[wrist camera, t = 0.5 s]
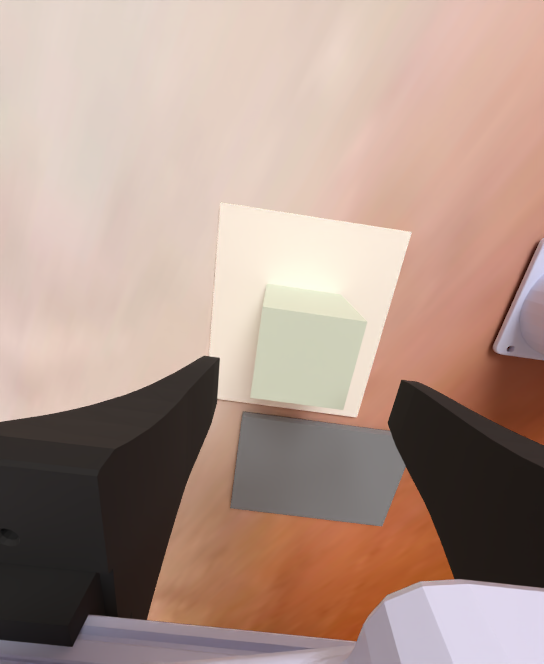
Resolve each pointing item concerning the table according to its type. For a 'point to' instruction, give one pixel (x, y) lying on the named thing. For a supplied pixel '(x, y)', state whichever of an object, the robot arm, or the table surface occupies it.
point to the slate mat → (315, 469)
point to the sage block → (306, 347)
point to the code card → (297, 286)
